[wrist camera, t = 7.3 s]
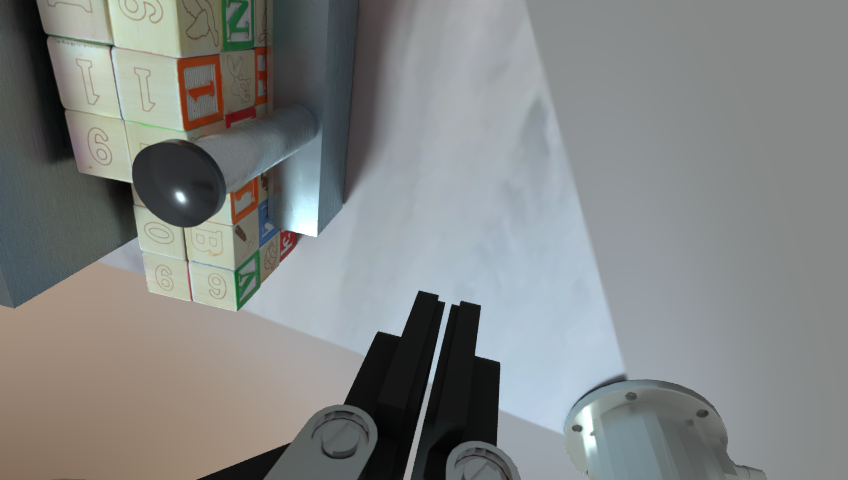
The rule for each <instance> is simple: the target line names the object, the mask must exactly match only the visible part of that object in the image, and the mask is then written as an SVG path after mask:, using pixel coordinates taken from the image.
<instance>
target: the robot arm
mask: <svg viewBox="0 0 848 480" xmlns="http://www.w3.org/2000/svg"><path fill="white" fill-rule="evenodd" d="M438 297H439V295H436V294H432V293H427V292H423V291H418V294H417V296H416V299H415V302H414V304H413V307H412V310H411V312H410V315H409V318H408V320H407V323H406V325H405V328H404V331H403V333H402V336H401V337H399V336H395V335H391V334H387V333H383V332H379V331H378V332H377V334H376V336H375V338H374V340H373V342H372V344H371V346H370V348H369V351H368V353H367V355H366V357H365V359H364V361H363V363H362V366H361V368H360V370H359V372H358V374H357V377H356V379H355V381H354V383H353V385H352V387H351V389H350V391H349V394H348V396H347V398H346V400H345V402H344V404H343V405H333V406H329V407H326V408H324V409H322V410H320V411H318V412H316V413H315V414H314V415H313V416H312V417H311V418H310V419H309V420H308V422H307V423H306V424H305V426H304V427H303V428H302V429H301V431H300V432H299V433H298V435H297V436H296V437H295V439H294V440H293V441H292V442H291V443H288V444H286V445H283V446H281V447H278V448H276V449H273V450H271V451H268V452H266V453H263V454H261V455H258V456H256V457H253V458H250V459H248V460H245V461H243V462H240V463H238V464H235V465H233V466H230V467H228V468H225V469H223V470H220V471H218V472H215V473H213V474H210V475H207V476H205V477H202V478H200V479H197V480H403V477H404V474H405V470H406V466H407V462H408V458H409V454H410V450H411V446H412V443H413V439H414V435H415V431H416V427H417V423H418V419H419V415H420V411H421V407H422V403H423V399H424V395H425V391H426V387H427V383H428V379H429V374H430V370H431V365H432V361H433V356H434V352H435V347H436V343H437V338H438V334H439V329H440V325H441V320H442V316H443V311H444V307H445V302H441V301H438ZM480 310H481V305H477V304H473V303H468V302H464V301H461V302H460V306H458V305H454V304H452V305H451V309H450V314H449V318H448V322H447V326H446V330H445V335H444V339H443V343H442V347H441V351H440V356H439V360H438V364H437V368H436V372H435V377H434V381H433V385H432V389H431V393H430V398H429V402H428V406H427V411H426V414H425V419H424V423H423V427H422V432H421V436H420V441H419V445H418V449H417V454H416V458H415V462H414V467H413V472H412V475H411V480H521V479H520V476H519V473H518V470H517V467H516V466H515V465H514V463H513V461H512V460H511V458H510V457H509V456H507V455H506V454H505V453H504V452H503V451H502V450H501V449H499V448H497V447H496V446H497V426H498V425H497V424H498V405H499V384H500V362H497V361H493V360H489V359H485V358H481V357H477V356H475V349H476V341H477V333H478V326H479V318H480ZM564 442H565V446H566V452H567V454H568V456H569V458H570V460H571V462H572V463H573V464H574V465H575V467H576V468H577V469H578V470H579V471H580V472H581V473H582V474H584V475H585V476H586V477H588V478H589V479H590V480H767V478H766V475H765V473H764V472H763V471H762V470H759V469H754V468H751V467H747V466H740V465H736V464H735V463H734V462H733V461H732V460H731V459H730V458H729V456H728V454H727V452H726V449H727V443H728V437H727V431H726V428H725V426H724V424H723V422H722V419H721V418H720V416H719V414H718V413H717V411H716V409H715V408H714V406H712V405H711V404H710V403H709V402H708V401H707V400H706V399H705V398H704V397H702V396H701V395H699V394H698V393H696V392H694V391H693V390H690V389H688V388H685V387H683V386H680V385H678V384H674V383H669V382H665V381H658V380H629V381H623V382H618V383H614V384H611V385H608V386H605V387H602V388H599V389H597V390H596V391H594V392H592V393H590V394H588V395H587V396H585V397H584V398H583V399H581V400H580V401H579V402H578V403H577V404H576V405H575V406H574V407H573V409H572V410H571V411H570V413H569V415H568V417H567V419H566V421H565V426H564ZM53 480H84V479H64V478H63V479H53Z"/></svg>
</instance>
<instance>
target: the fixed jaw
mask: <svg viewBox="0 0 848 480" xmlns="http://www.w3.org/2000/svg"><path fill="white" fill-rule="evenodd" d="M48 38H49V35H48V34H46V33H45V32H44V29H43V25H42V21H41V17H40V13H39V9H38V5H37V0H0V305H3V306H7V307H11V308H16V307H18V306H20V305H21V304H23V303H25V302H26V301H28V300H30V299H32V298H33V297H35V296H37V295H38V294H40V293H42V292H44V291H45V290H47V289H49V288H50V287H52V286H54V285H55V284H57V283H59V282H61V281H62V280H64V279H66V278H68V277H69V276H71V275H73V274H74V273H76V272H78V271H80V270H81V269H83V268H85V267H86V266H88V265H90V264H92V263H93V262H95V261H97V260H98V259H100V258H102V257H103V256H105V255H107V254H109V253H110V252H112V251H114V250H115V249H117V248H119V247H121V246H122V245H124V244H126V243H127V242H129V241H131V240H133V239H134V238H136V237H138V232H137V226H136V220H135V214H134V208H133V205H134V201H133V195H132V189H131V183H130V182H125V181H120V180H115V179H110V178H105V177H100V176H95V175H90V174H85V173H80V172H79V171H78V168H77V164H76V159H75V155H74V151H73V147H72V143H71V138H70V134H69V130H68V125H67V121H66V117H65V111H66V109H65V107H64V106H63V105H62V103H61V100H60V95H59V91H58V86H57V82H56V79H55V75H54V70H53V66H52V62H51V58H50V54H49V49H48V45H47V39H48Z"/></svg>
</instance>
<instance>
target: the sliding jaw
mask: <svg viewBox="0 0 848 480" xmlns="http://www.w3.org/2000/svg"><path fill="white" fill-rule="evenodd" d="M358 3H359V0H267V113H266V114H264V115H261V116H259V117H256V118H253V119H251V120H248V121H246V122H243V123H240V124H238V125H235V126H233V127H230V128H228V129H225V130H222V131H220V132H217V133H215V134H212V135H209V136H207V137H204V138H202V139H199V140H197V141H194V142H189V141H186V140H183V139H167V140H164V141H161V142H159V143H156V144H153V145H150V146H147V147H145V148H144V149H142V150H141V151H140V152H139V153H138V154H137V155H136V157H135V159H134V162H133V165H132V180H133V184H134V187H135V190H136V192H137V194H138V196H139V198H140V200H141V201H142V202H143V204H144V205H145V206H146V207H147V209H148V210H149V211H150V212H151V213H152V214H154V215H155V216H156V217H158V218H159V219H161V220H162V221H164V222H166V223H168V224H170V225H173V226H177V227H182V228H190V227H195V226H198V225H200V224H202V223H203V222H205V221H206V220H208V219H209V218H211V217H212V216H214V215H215V214H217V213H218V212H219V211H220V210H221V208H222V207H223V205H224V202H225V199H226V195H227V194H229V193H231V192H232V191H234V190H235V189H237V188H239V187H240V186H242V185H243V184H245V183H247V182H248V181H250V180H252V179H253V178H255V177H256V176H258V175H260V174H261V173H263V172H264V171H266V170H268V224H273V227H276V228H280V229H284V230H289V231H293V232H298V233H302V234H306V235H311V236H315V237H317V236H318V235H319V234H320V233H321V231H322V230H323V229H324V228H325V227H326V226H327V225H328V224H329V222H330V221H331V220H332V219H333V218H334V217H335V216H336V215H337V213H338V212H339V211H340V210H341V209H342V205H343V193H344V180H345V167H346V155H347V142H348V129H349V117H350V104H351V91H352V79H353V66H354V53H355V41H356V28H357V15H358Z"/></svg>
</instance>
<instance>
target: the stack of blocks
mask: <svg viewBox="0 0 848 480" xmlns="http://www.w3.org/2000/svg"><path fill="white" fill-rule="evenodd" d="M37 5H38V9H39V13H40V17H41V21H42V25H43V29H44V32H45V33H46V34H48V35H49V38H48V39H47V45H48V49H49V54H50V58H51V62H52V66H53V70H54V75H55V79H56V82H57V86H58V91H59V95H60V100H61V103H62V105H63V106H64V107H65V109H66V111H65V117H66V121H67V125H68V130H69V134H70V138H71V143H72V147H73V151H74V155H75V159H76V164H77V168H78V171H79V172H80V173H85V174H90V175H95V176H100V177H105V178H110V179H115V180H120V181H125V182H130V183H131V189H132V195H133V201H134V205H133V208H134V214H135V220H136V226H137V232H138V239H139V245H140V249H141V250H142V256H143V262H144V267H145V276H146V280H147V287H148V290H149V292H153V293H157V294H161V295H166V296H170V297H174V298H178V299H182V300H186V301H195V302H198V303H202V304H206V305H211V306H215V307H220V308H223V309H228V310H232V311H238V310H239V309H240V308H241V307H242V306H243V305H244V304H245V303H246V302H247V301H248V300H249V299H250V298H251V297H252V296H253V294H254V293H255V292H256V291H257V290H258V289H259V288H260V285H261V283H262V282H263V281H264V280H265V279H266V278H267V277H268V276H269V275H270V274H271V273H272V272H273V271H274V270H275V269H276V268H277V267H278V266H279V263H280V262H281V261H282V260H283V259H284V258H285V257H286V256H287V255H288V254H289V253H290V252H291V251H292V250H293V249H294V248H295V246H296V232H293V231H289V230H284V229H280V228H276V227H273V224H268V170H266V171H264V172H263V173H261V174H260V175H258V176H256V177H255V178H253V179H252V180H250V181H248V182H247V183H245V184H243V185H242V186H240V187H239V188H237V189H235V190H234V191H232V192H231V193H229V194H227V195H226V199H225V202H224V205H223V207H222V208H221V210H220V211H219V212H218V213H217V214H215V215H214V216H212V217H211V218H209V219H208V220H206V221H205V222H203V223H202V224H200V225H198V226H195V227H190V228H182V227H177V226H173V225H170V224H168V223H166V222H164V221H162V220H161V219H159V218H158V217H156V216H155V215H154V214H152V213H151V212H150V211H149V210H148V209H147V207H146V206H145V205H144V204H143V202H142V201H141V200H140V198H139V196H138V194H137V192H136V190H135V187H134V184H133V180H132V165H133V162H134V159H135V157H136V155H137V154H138V153H139V152H140V151H141V150H142V149H144V148H145V147H147V146H150V145H153V144H156V143H159V142H161V141H164V140H167V139H183V140H186V141H189V142H194V141H197V140H199V139H202V138H204V137H207V136H209V135H212V134H215V133H217V132H220V131H222V130H225V129H228V128H230V127H233V126H235V125H238V124H240V123H243V122H246V121H248V120H251V119H253V118H256V117H259V116H261V115H264V114H266V113H267V0H37Z"/></svg>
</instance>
